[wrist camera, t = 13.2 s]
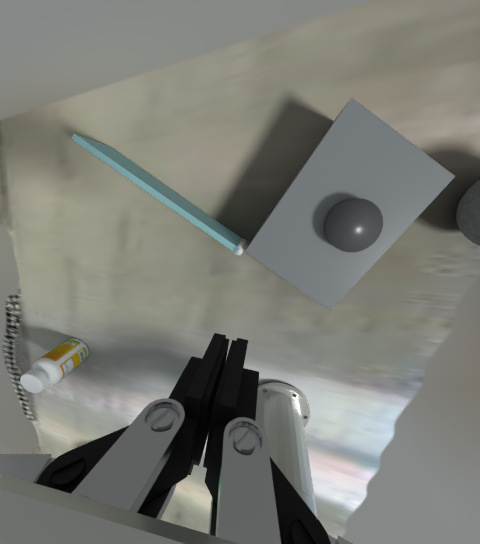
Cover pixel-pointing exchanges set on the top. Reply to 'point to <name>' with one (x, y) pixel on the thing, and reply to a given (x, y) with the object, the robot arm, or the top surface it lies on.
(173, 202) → the door
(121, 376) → the top surface
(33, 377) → the supplement bottle
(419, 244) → the top surface
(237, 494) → the robot arm
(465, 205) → the decorative ball
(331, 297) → the grey box with knob
